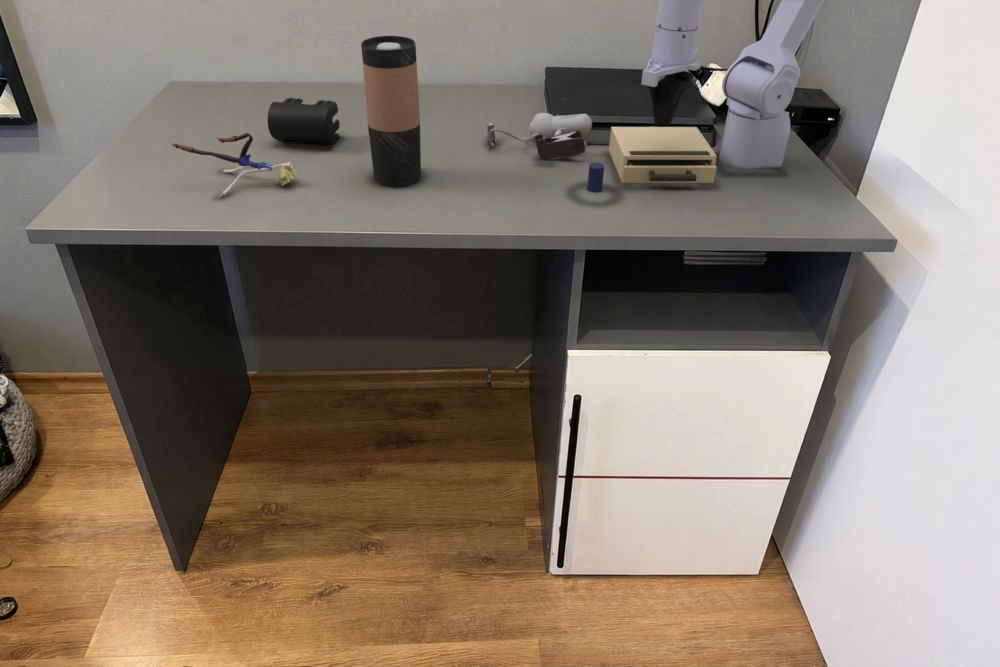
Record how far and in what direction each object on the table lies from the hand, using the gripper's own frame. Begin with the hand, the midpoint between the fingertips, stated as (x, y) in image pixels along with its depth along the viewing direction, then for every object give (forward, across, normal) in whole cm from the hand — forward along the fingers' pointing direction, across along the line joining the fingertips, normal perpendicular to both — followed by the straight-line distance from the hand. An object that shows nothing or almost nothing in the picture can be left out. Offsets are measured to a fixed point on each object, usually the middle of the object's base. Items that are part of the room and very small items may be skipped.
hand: (662, 123), depth 110 cm
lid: (+9, -10, +5) cm, 14 cm away
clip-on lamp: (+10, 0, +22) cm, 24 cm away
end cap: (+9, -21, +54) cm, 58 cm away
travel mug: (+9, -22, +33) cm, 41 cm away
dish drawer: (+9, +5, +2) cm, 10 cm away
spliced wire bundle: (+9, -38, +48) cm, 62 cm away
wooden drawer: (+9, +3, 0) cm, 9 cm away
